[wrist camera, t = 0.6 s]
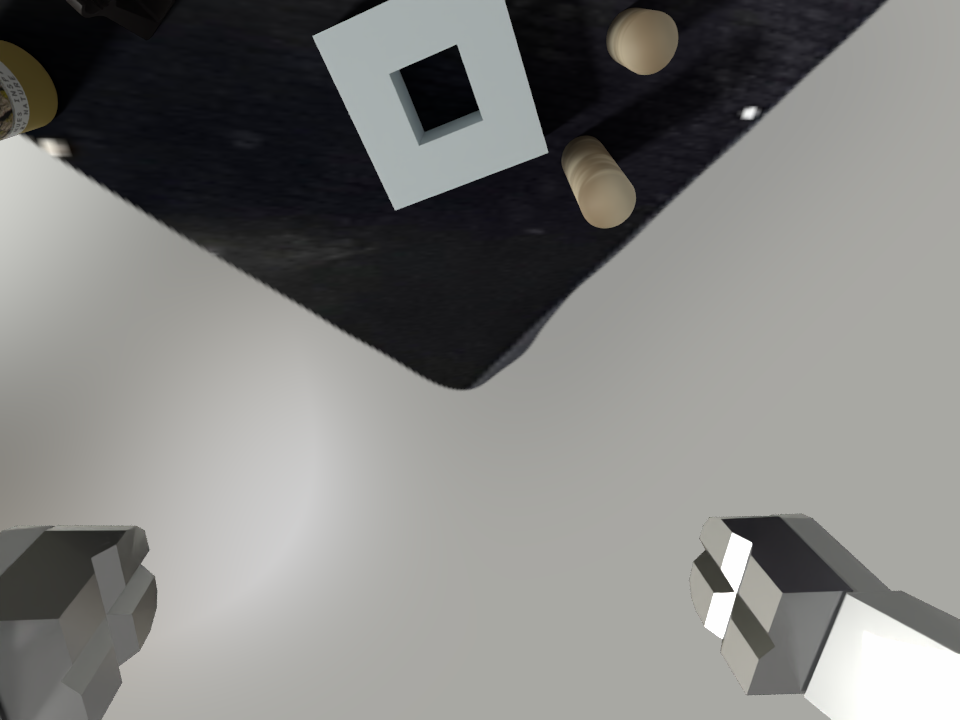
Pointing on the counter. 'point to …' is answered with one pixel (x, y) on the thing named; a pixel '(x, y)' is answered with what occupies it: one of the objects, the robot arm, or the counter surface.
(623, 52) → the short pin
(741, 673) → the robot arm
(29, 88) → the bark-patterned tube
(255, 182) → the counter surface
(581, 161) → the tall pin
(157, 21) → the phone stand
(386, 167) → the hole board
